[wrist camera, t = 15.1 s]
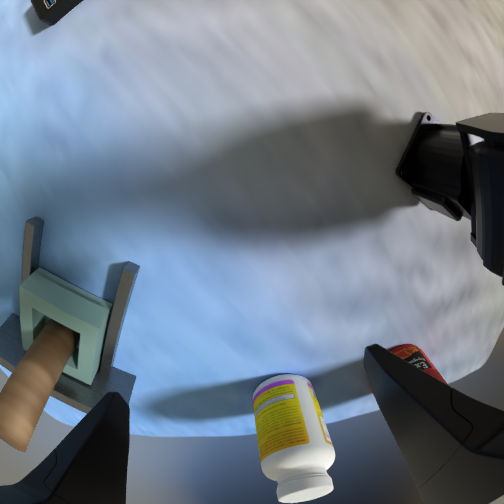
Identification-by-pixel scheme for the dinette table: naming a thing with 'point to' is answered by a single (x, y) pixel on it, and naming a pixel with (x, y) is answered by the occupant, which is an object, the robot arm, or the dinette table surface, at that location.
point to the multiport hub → (53, 9)
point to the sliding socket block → (65, 319)
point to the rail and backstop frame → (107, 377)
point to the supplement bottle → (293, 438)
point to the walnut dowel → (34, 383)
